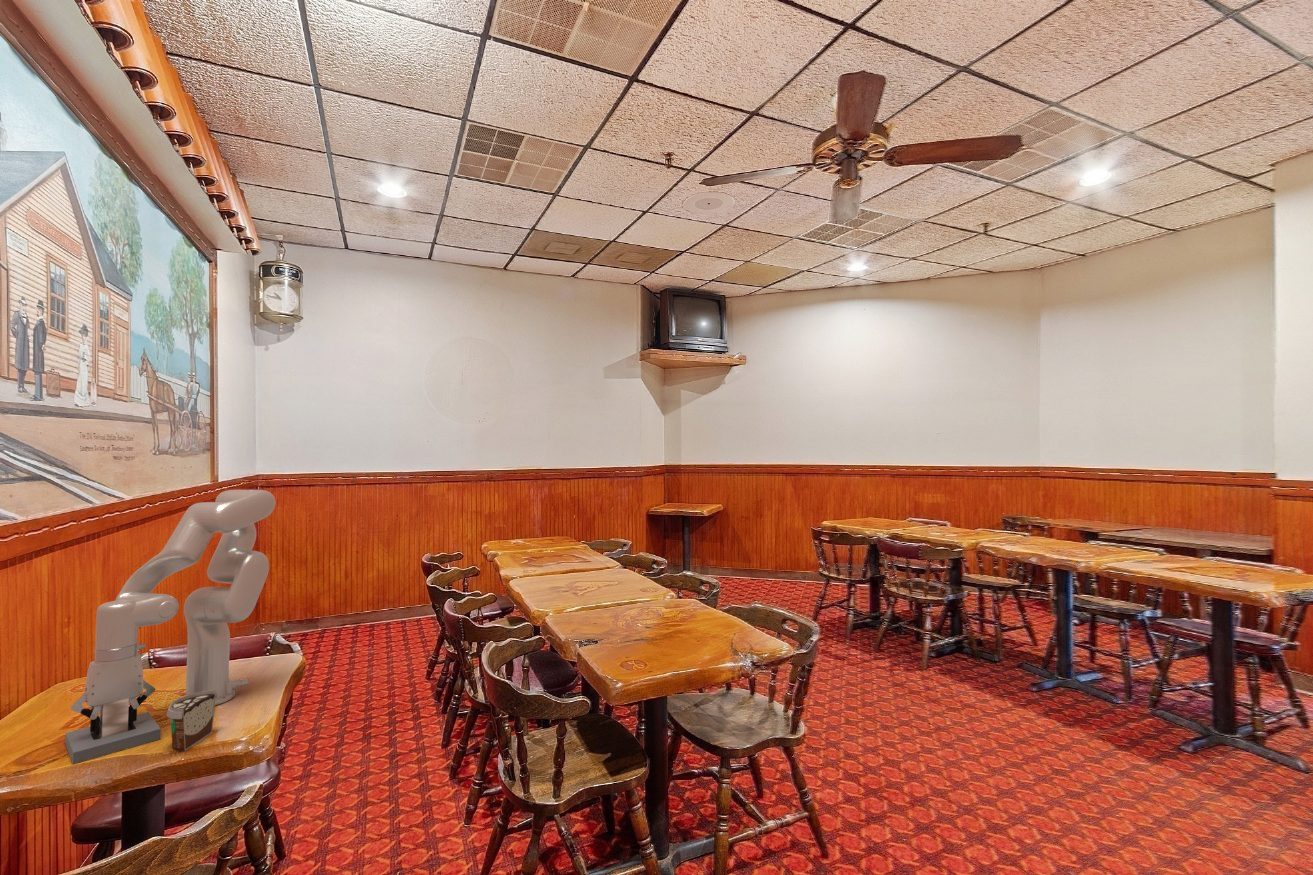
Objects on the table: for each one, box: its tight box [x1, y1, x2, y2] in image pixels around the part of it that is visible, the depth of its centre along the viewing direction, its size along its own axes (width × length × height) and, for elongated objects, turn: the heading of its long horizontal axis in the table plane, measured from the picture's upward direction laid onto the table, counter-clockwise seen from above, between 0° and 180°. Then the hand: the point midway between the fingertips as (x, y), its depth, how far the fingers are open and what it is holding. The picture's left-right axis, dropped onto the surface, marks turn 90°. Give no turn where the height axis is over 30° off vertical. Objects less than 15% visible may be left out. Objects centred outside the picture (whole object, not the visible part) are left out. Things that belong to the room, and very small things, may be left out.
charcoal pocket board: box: [64, 711, 162, 765], centre depth 139 cm, size 15×15×2 cm
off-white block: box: [99, 698, 130, 739], centre depth 140 cm, size 4×4×10 cm
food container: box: [166, 690, 217, 752], centre depth 139 cm, size 12×6×10 cm, turn 5°
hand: (113, 728), depth 140 cm, fingers open, 5 cm apart
